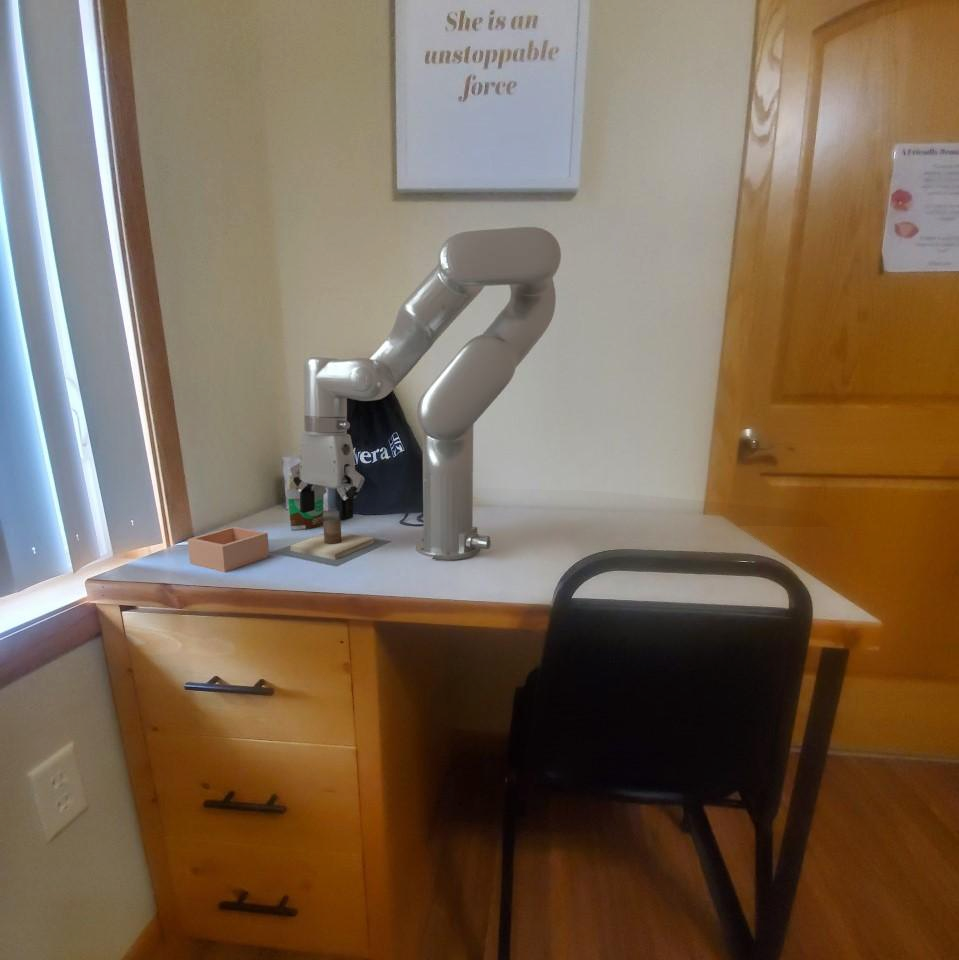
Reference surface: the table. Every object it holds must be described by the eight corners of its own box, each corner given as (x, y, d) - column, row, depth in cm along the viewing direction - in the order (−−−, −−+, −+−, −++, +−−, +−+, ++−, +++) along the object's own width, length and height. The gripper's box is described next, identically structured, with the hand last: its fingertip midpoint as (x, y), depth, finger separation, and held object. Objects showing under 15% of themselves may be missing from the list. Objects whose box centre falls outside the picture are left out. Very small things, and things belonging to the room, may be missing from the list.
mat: (391, 544, 97) (391, 541, 97) (336, 569, 83) (336, 566, 83) (330, 533, 104) (330, 531, 104) (270, 555, 90) (270, 552, 90)
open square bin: (269, 559, 88) (267, 532, 87) (225, 575, 80) (222, 546, 79) (235, 551, 92) (233, 526, 91) (190, 566, 84) (187, 539, 83)
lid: (373, 542, 96) (372, 518, 95) (335, 559, 86) (333, 532, 86) (331, 535, 101) (330, 512, 100) (290, 550, 91) (288, 525, 90)
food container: (317, 535, 103) (314, 489, 101) (288, 535, 103) (285, 489, 101) (335, 520, 115) (333, 479, 113) (310, 520, 115) (307, 479, 113)
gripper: (376, 428, 89) (375, 518, 92) (306, 422, 96) (307, 505, 99) (348, 430, 83) (348, 527, 86) (276, 423, 90) (278, 512, 93)
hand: (326, 515), depth 93 cm, fingers open, 9 cm apart
